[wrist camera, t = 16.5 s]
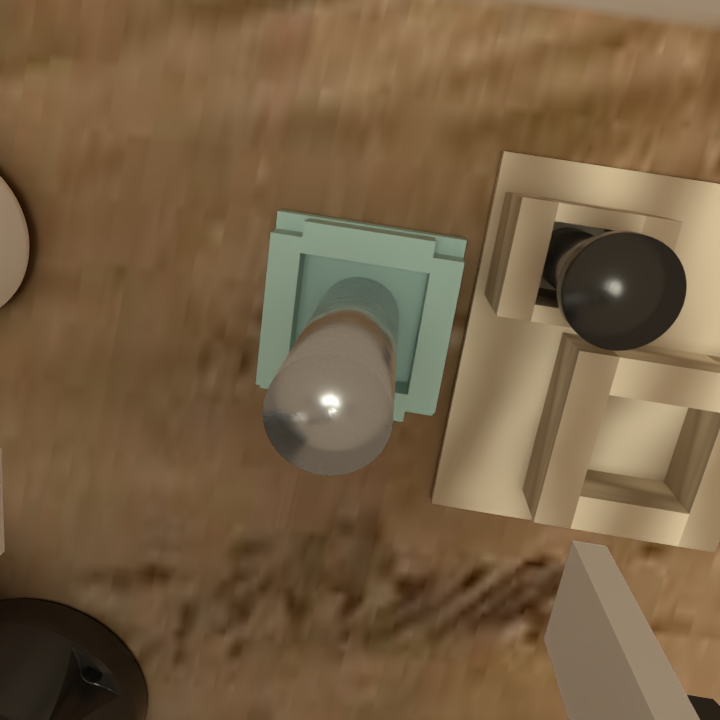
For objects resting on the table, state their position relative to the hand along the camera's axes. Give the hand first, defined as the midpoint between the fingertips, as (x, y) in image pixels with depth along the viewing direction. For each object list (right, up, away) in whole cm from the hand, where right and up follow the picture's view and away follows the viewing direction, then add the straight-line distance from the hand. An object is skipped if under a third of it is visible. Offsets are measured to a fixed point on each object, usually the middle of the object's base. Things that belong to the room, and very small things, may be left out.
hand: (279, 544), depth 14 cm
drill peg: (+2, +7, +20) cm, 21 cm away
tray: (+2, +7, +21) cm, 22 cm away
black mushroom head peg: (+12, +10, +18) cm, 24 cm away
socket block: (+16, +4, +21) cm, 27 cm away
